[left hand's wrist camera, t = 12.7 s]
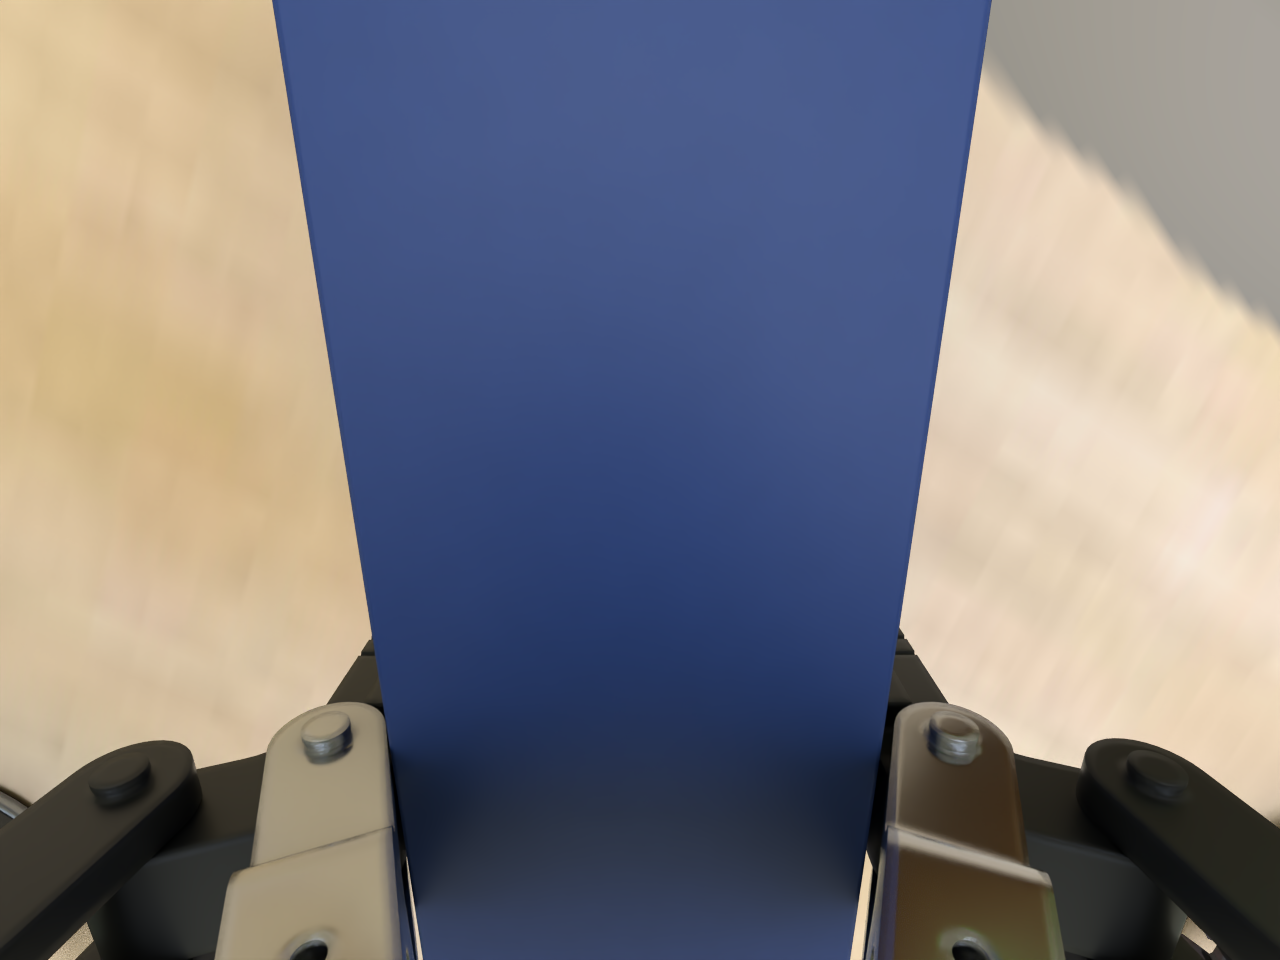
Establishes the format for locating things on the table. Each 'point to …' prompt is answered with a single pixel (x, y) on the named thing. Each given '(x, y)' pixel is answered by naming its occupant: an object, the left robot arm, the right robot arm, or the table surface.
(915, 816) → the left robot arm
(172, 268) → the table surface
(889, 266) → the bar
